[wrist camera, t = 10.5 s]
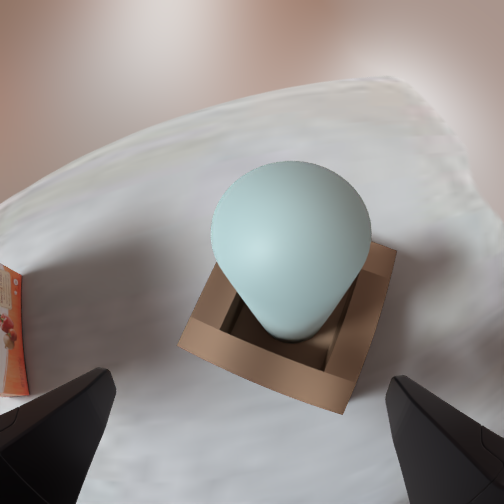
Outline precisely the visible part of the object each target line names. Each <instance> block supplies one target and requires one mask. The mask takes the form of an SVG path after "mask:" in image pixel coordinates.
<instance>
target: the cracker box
mask: <svg viewBox="0 0 504 504" xmlns="http://www.w3.org/2000/svg"><path fill="white" fill-rule="evenodd" d="M21 279H22V276H21V275H20V274H18V273H17V272H15V271H13V270H11V269H9V268H8V267H6V266H4V265H2V264H1V263H0V397H13V396H24V395H29V390H28V384H27V378H26V371H25V363H24V353H23V341H22V324H21Z"/></svg>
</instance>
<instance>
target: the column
mask: <svg viewBox="0 0 504 504" xmlns="http://www.w3.org/2000/svg"><path fill="white" fill-rule="evenodd" d="M371 232H372V231H371V222H370V218H369V214H368V211H367V209H366V206H365V204H364V202H363V200H362V199H361V197H360V195H359V194H358V193H357V191H356V190H355V189H354V188H353V187H352V186H351V185H350V184H349V183H348V182H347V181H346V180H345V179H343V178H342V177H341V176H339V175H338V174H336V173H335V172H333V171H331V170H329V169H327V168H325V167H322V166H319V165H316V164H312V163H307V162H300V161H283V162H276V163H271V164H267V165H264V166H261V167H258V168H256V169H254V170H252V171H250V172H248V173H247V174H245V175H243V176H242V177H241V178H239V179H238V180H237V181H235V182H234V183H233V184H232V185H231V186H230V187H229V188H228V190H227V191H226V192H225V193H224V195H223V196H222V198H221V199H220V201H219V203H218V205H217V207H216V209H215V212H214V215H213V219H212V225H211V243H212V248H213V252H214V256H215V258H216V260H217V262H218V265H219V266H220V268H221V270H222V271H223V273H224V274H225V276H226V277H227V278H228V280H229V281H230V283H231V284H232V285H233V287H234V288H235V289H236V291H237V292H238V294H239V295H240V296H241V298H242V299H243V300H244V302H245V303H246V304H247V306H248V307H249V309H250V310H251V311H252V313H253V314H254V315H255V317H256V318H257V319H258V321H259V322H260V323H261V325H262V326H263V327H264V329H265V330H266V331H267V332H268V334H269V335H271V336H272V337H273V338H275V339H276V340H278V341H281V342H284V343H290V344H294V343H301V342H304V341H306V340H308V339H310V338H312V337H313V336H314V335H315V334H316V333H317V332H318V331H319V330H320V328H321V327H322V326H323V324H324V323H325V322H326V320H327V319H328V317H329V316H330V315H331V313H332V312H333V310H334V309H335V307H336V306H337V305H338V303H339V302H340V300H341V299H342V297H343V296H344V294H345V293H346V291H347V290H348V288H349V287H350V285H351V284H352V282H353V281H354V279H355V278H356V276H357V275H358V273H359V272H360V270H361V268H362V267H363V265H364V263H365V261H366V258H367V256H368V253H369V249H370V244H371Z"/></svg>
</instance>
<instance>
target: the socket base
mask: <svg viewBox="0 0 504 504" xmlns="http://www.w3.org/2000/svg"><path fill="white" fill-rule="evenodd" d="M396 253H397V251H396V250H393V249H391V248H388V247H385V246H383V245H380V244H377V243H374V242H371V244H370V249H369V253H368V256H367V258H366V261H365V263H364V265H363V267H362V268H361V270H360V272H359V273H358V275H357V276H356V278H355V279H354V281H353V282H352V284H351V285H350V287H349V288H348V290H347V291H346V293H345V294H344V296H343V297H342V299H341V300H340V302H339V303H338V305H337V306H336V307H335V309H334V310H333V312H332V313H331V315H330V316H329V317H328V319H327V320H326V322H325V323H324V324H323V326H322V327H321V328H320V330H319V331H318V332H317V333H316V334H315V335H314V336H313V337H312V338H310V339H308V340H306V341H304V342H301V343H294V344H290V343H284V342H281V341H278V340H276V339H275V338H273V337H272V336H271V335H269V334H268V332H267V331H266V330H265V329H264V327H263V326H262V325H261V323H260V322H259V321H258V319H257V318H256V317H255V315H254V314H253V313H252V311H251V310H250V309H249V307H248V306H247V304H246V303H245V302H244V300H243V299H242V298H241V296H240V295H239V294H238V292H237V291H236V289H235V288H234V287H233V285H232V284H231V283H230V281H229V280H228V278H227V277H226V276H225V274H224V273H223V271H222V270H221V268H220V266H219V265H218V262H216V264H215V266H214V268H213V270H212V272H211V274H210V277H209V279H208V281H207V283H206V285H205V287H204V289H203V291H202V293H201V295H200V297H199V299H198V302H197V304H196V306H195V308H194V310H193V312H192V314H191V316H190V318H189V321H188V323H187V325H186V327H185V329H184V331H183V333H182V336H181V338H180V340H179V342H178V344H177V346H178V347H180V348H182V349H184V350H186V351H188V352H190V353H192V354H194V355H196V356H198V357H200V358H202V359H204V360H206V361H208V362H210V363H212V364H214V365H216V366H218V367H221V368H223V369H225V370H227V371H229V372H231V373H234V374H236V375H238V376H240V377H243V378H245V379H247V380H249V381H252V382H254V383H257V384H259V385H261V386H264V387H266V388H269V389H271V390H274V391H276V392H279V393H281V394H284V395H286V396H289V397H292V398H294V399H297V400H300V401H303V402H305V403H308V404H311V405H314V406H317V407H320V408H323V409H326V410H329V411H332V412H335V413H338V414H341V415H343V413H344V411H345V408H346V406H347V404H348V402H349V399H350V397H351V394H352V392H353V390H354V387H355V385H356V382H357V380H358V377H359V375H360V372H361V370H362V367H363V364H364V362H365V359H366V356H367V353H368V350H369V348H370V345H371V342H372V339H373V336H374V333H375V330H376V327H377V324H378V320H379V317H380V314H381V310H382V307H383V304H384V300H385V297H386V293H387V289H388V286H389V282H390V278H391V274H392V270H393V266H394V262H395V257H396Z"/></svg>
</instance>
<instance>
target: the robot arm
mask: <svg viewBox="0 0 504 504" xmlns="http://www.w3.org/2000/svg"><path fill="white" fill-rule="evenodd" d="M115 395H116V386H115V384H114V381H113V378H112V375H111V373H110V371H109V370H108V369H105V368H96V369H94V370H92V371H90V372H88V373H86V374H84V375H82V376H80V377H78V378H76V379H74V380H72V381H70V382H68V383H66V384H64V385H62V386H60V387H58V388H56V389H54V390H52V391H50V392H48V393H46V394H44V395H42V396H40V397H38V398H36V399H34V400H32V401H30V402H28V403H26V404H23V405H21V406H20V407H17V408H15V409H13V410H11V411H9V412H6V413H4V414H2V415H0V504H76V502H77V499H78V496H79V493H80V491H81V488H82V485H83V483H84V480H85V477H86V475H87V472H88V470H89V467H90V465H91V462H92V460H93V457H94V455H95V452H96V450H97V447H98V445H99V442H100V440H101V438H102V435H103V433H104V430H105V427H106V424H107V421H108V418H109V414H110V411H111V408H112V405H113V401H114V398H115ZM385 400H386V406H387V411H388V417H389V422H390V428H391V433H392V438H393V443H394V446H395V450H396V453H397V456H398V460H399V463H400V467H401V471H402V474H403V478H404V482H405V486H406V489H407V493H408V497H409V502H410V504H504V438H502V437H501V436H499V435H497V434H495V433H494V432H492V431H490V430H489V429H487V428H486V427H484V426H481V424H479V423H478V422H476V421H474V420H473V419H471V418H470V417H468V416H467V415H465V414H464V413H462V412H460V411H459V410H457V409H456V408H454V407H453V406H451V405H450V404H448V403H447V402H445V401H443V400H442V399H440V398H439V397H437V396H436V395H434V394H433V393H431V392H430V391H428V390H427V389H425V388H424V387H422V386H420V385H419V384H417V383H416V382H414V381H413V380H411V379H410V378H408V377H407V376H405V375H401V376H395V377H393V378H392V379H391V382H390V385H389V388H388V391H387V393H386V399H385Z"/></svg>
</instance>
